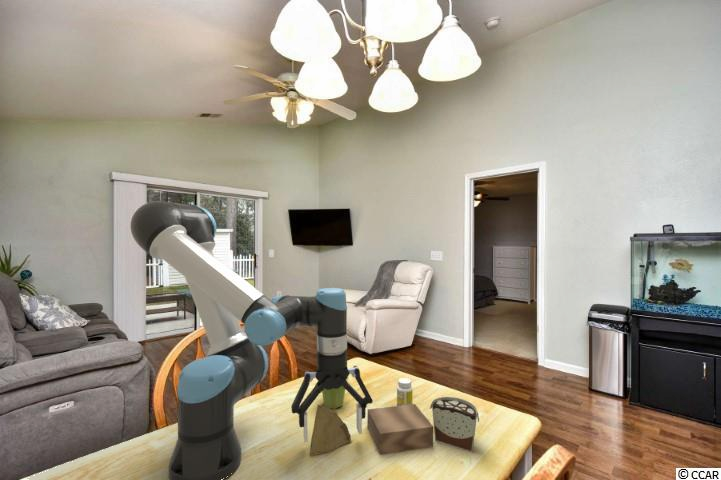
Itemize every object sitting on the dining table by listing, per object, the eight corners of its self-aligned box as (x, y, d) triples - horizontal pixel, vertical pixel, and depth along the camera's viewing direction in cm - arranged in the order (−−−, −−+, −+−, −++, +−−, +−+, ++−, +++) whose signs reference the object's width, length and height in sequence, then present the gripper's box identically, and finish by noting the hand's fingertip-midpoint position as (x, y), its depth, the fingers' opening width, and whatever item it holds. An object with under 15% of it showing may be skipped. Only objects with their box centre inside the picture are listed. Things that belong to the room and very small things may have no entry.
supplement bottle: (412, 404, 109) (412, 377, 108) (412, 412, 104) (413, 384, 104) (396, 403, 109) (396, 377, 109) (396, 411, 104) (397, 383, 104)
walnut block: (380, 454, 84) (380, 433, 84) (367, 427, 95) (367, 409, 95) (433, 446, 87) (433, 426, 87) (414, 421, 99) (414, 403, 99)
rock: (354, 423, 93) (317, 416, 94) (356, 408, 88) (317, 401, 88) (347, 468, 85) (307, 461, 85) (349, 454, 79) (306, 447, 80)
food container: (483, 441, 89) (484, 403, 89) (478, 454, 84) (478, 413, 84) (437, 427, 95) (437, 391, 95) (429, 439, 90) (429, 401, 90)
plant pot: (345, 413, 103) (345, 384, 103) (314, 410, 104) (314, 381, 104) (351, 398, 112) (351, 371, 112) (322, 396, 114) (323, 369, 114)
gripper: (281, 360, 80) (282, 451, 80) (384, 351, 86) (384, 435, 86) (280, 350, 87) (281, 433, 87) (375, 342, 93) (376, 420, 93)
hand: (332, 434), depth 87 cm, fingers open, 13 cm apart
